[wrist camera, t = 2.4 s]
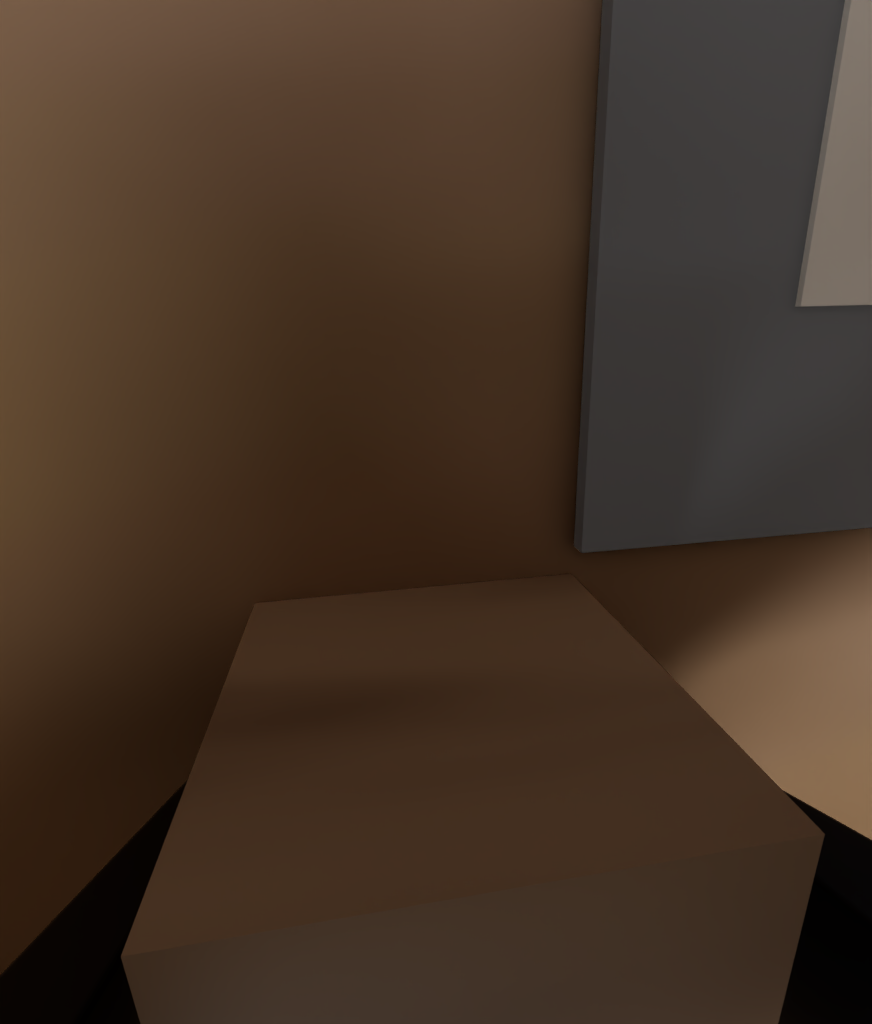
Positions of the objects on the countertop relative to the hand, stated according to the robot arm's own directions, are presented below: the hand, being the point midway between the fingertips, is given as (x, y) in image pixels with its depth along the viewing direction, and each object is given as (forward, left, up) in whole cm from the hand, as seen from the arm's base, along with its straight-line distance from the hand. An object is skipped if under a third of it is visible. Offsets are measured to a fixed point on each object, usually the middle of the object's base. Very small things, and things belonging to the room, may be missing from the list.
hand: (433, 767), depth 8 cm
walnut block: (0, 0, -1) cm, 1 cm away
